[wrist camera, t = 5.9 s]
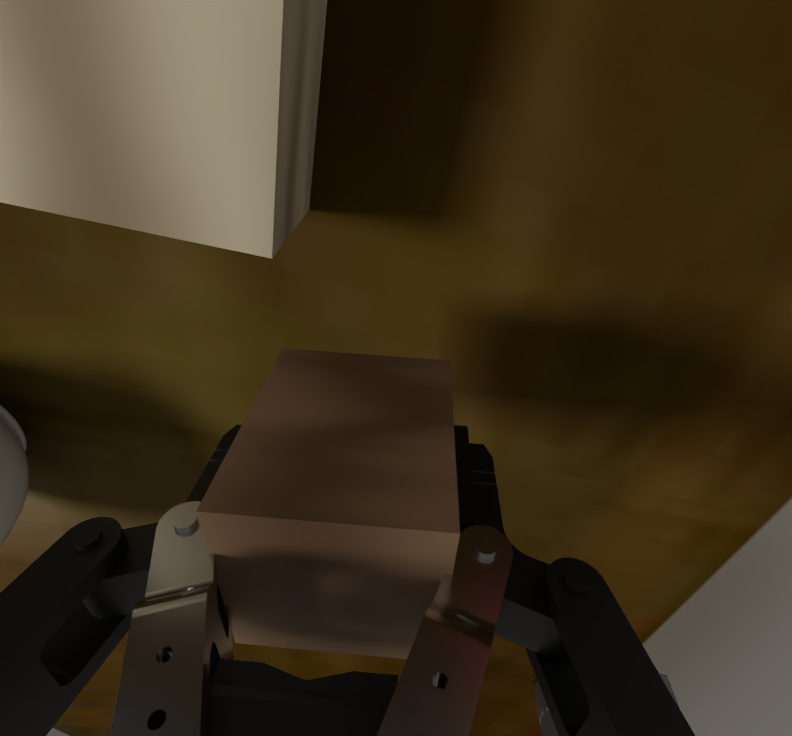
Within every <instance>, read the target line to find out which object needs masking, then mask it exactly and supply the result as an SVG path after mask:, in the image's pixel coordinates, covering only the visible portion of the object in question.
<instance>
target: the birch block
mask: <svg viewBox="0 0 792 736" xmlns="http://www.w3.org/2000/svg"><path fill="white" fill-rule="evenodd" d="M326 10H327V0H0V202H2V203H7V204H12V205H16V206H21V207H26V208H31V209H36V210H41V211H45V212H50V213H55V214H60V215H65V216H70V217H74V218H79V219H84V220H89V221H94V222H98V223H103V224H108V225H113V226H118V227H123V228H127V229H132V230H137V231H142V232H147V233H151V234H156V235H161V236H166V237H171V238H176V239H180V240H185V241H190V242H195V243H200V244H204V245H209V246H214V247H219V248H224V249H229V250H233V251H238V252H243V253H248V254H253V255H258V256H262V257H267V258H273V257H274V255H275V254H276V253H277V251H278V250H279V249H280V247H281V246H282V245H283V244H284V242H285V241H286V240H287V238H288V237H289V236H290V234H291V233H292V232H293V231H294V229H295V228H296V227H297V225H298V224H299V223H300V221H301V220H302V219H303V218H304V216H305V215H306V214H307V212H308V211H309V206H310V194H311V183H312V171H313V160H314V148H315V137H316V125H317V114H318V102H319V90H320V79H321V67H322V56H323V44H324V33H325V21H326Z"/></svg>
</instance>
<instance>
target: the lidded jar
mask: <svg viewBox="0 0 792 736" xmlns="http://www.w3.org/2000/svg"><path fill="white" fill-rule="evenodd" d="M26 450H27V439H26V436H25V433H24V431H23V429H22V428H21V426H20V424H19V423H18V422H17V420H16V419H15V418H14V417H13V416H12V415H11V414H10V413H9V411H7V410H6V409H5V408H4V407H3V406H2V405H1V404H0V547H1V545H2V544H3V542H4V541H5V539H6V538H7V536H8V535H9V533H10V531H11V529H12V527H13V526H14V524H15V522H16V520H17V518H18V516H19V514H20V513H21V511H22V508H23V505H24V502H25V499H26V496H27V491H28V484H29V469H28V461H27V456H26Z"/></svg>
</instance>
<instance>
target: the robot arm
mask: <svg viewBox="0 0 792 736" xmlns="http://www.w3.org/2000/svg"><path fill="white" fill-rule="evenodd" d="M241 426H242V425H236V426H235V427H233V428H232V429H231V430H230V431H229V432H227V433H226V434H225V435H224V436H223V437H222V439H221V441H220V443H219V445H218V446H217V448H216V451H215V452H214V453H213V455H212V457H211V459H210V462H208V464H207V466H206V468H205V469H204V471H203V473H202V475H201V476H200V478H199V480H198V482H197V483H196V485H195V487H194V489H193V491H192V492H191V494H190V496H189V498H188V499H187V501H186V502H185V503H182V504H179V505H177V506H175V507H173V508H172V509H170V510H169V511H168V512H166V513H165V514H164V515H163V516H162V518H161V519H160V520H159V522H157V523H153V524H148V525H143V526H138V527H133V528H127V529H122V528H121V526H120V524H119V523H118V522H117V521H116V520H115V519H113V518H109V517H97V518H92V519H89V520H86V521H83V522H81V523H79V524H77V525H76V526H74V527H73V528H71V529H70V530H69V531H67V532H66V533H65V534H64V535H63V536H62V537H61V538H60V539H59V540H57V541H56V542H55V543H54V544H53V545H52V546H51V547H50V548H49V549H48V550H47V551H45V552H44V553H43V554H42V555H41V556H40V557H39V558H38V559H37V560H36V561H35V562H33V563H32V564H31V565H30V566H29V567H28V568H27V569H26V570H25V571H24V572H23V573H22V574H20V575H19V576H18V577H17V578H16V579H15V580H14V581H13V582H12V583H11V584H10V585H8V586H7V587H6V588H5V589H4V590H3V591H2V592H1V593H0V736H46V735H47V734H48V732H49V731H50V730H51V729H52V727H53V726H54V725H55V723H56V722H57V721H58V720H59V718H60V717H61V716H62V715H63V713H64V712H65V711H66V709H67V708H68V707H69V706H70V704H71V703H72V702H73V701H74V699H75V698H76V697H77V695H78V694H79V693H80V692H81V690H82V689H83V688H84V687H85V685H86V684H87V683H88V681H89V680H90V679H91V678H92V676H93V675H94V674H95V673H96V671H97V670H98V669H99V667H100V666H101V665H102V664H103V662H104V661H105V660H106V658H107V657H108V656H109V655H110V653H111V652H112V651H113V650H114V648H115V647H116V646H117V644H118V643H119V642H120V641H121V639H122V638H123V637H124V636H125V634H126V633H127V632H128V630H129V633H128V639H127V644H126V650H125V655H124V661H123V666H122V672H121V677H120V683H119V688H118V694H117V699H116V705H115V710H114V716H113V721H112V727H111V732H110V736H468V735H469V731H470V727H471V724H472V720H473V716H474V712H475V708H476V704H477V700H478V696H479V692H480V688H481V684H482V681H483V677H484V673H485V669H486V665H487V661H488V657H489V653H490V649H491V645H492V641H493V637H494V634H496V635H498V636H500V637H502V638H505V639H507V640H509V641H511V642H514V643H516V644H518V645H520V646H523V647H525V648H526V651H527V654H528V656H529V659H530V662H531V664H532V667H533V669H534V672H535V675H536V677H537V680H538V681H537V682H536V685H535V694H536V700H537V706H538V715H539V721H540V725H541V729H542V735H543V736H695V735H694V733H693V731H692V730H691V728H690V726H689V725H688V723H687V721H686V720H685V718H684V716H683V714H682V712H681V711H680V709H679V706H678V704H677V701H676V698H675V696H674V693H673V691H672V688H671V685H670V683H669V680H668V678H667V676H666V675H662V674H659V673H658V671H657V669H656V668H655V666H654V665H653V663H652V661H651V659H650V658H649V656H648V654H647V652H646V651H645V649H644V647H643V645H642V644H641V642H640V640H639V639H638V637H637V635H636V633H635V632H634V630H633V628H632V627H631V625H630V623H629V621H628V620H627V618H626V616H625V615H624V613H623V611H622V609H621V608H620V606H619V604H618V603H617V601H616V599H615V597H614V596H613V594H612V592H611V591H610V589H609V587H608V585H607V584H606V582H605V580H604V579H603V577H602V576H601V575H600V574H599V572H598V571H597V570H596V569H594V568H593V567H592V566H590V565H589V564H587V563H586V562H584V561H581V560H579V559H575V558H560V559H557V560H555V561H554V562H553V563H551V565H550V564H547V563H544V562H542V561H539V560H537V559H534V558H531V557H529V556H527V555H525V554H523V553H522V552H520V551H519V550H517V549H516V548H515V547H514V546H513V545H512V544H511V543H510V541H509V540H508V538H507V537H506V535H505V532H504V529H503V523H502V517H501V510H500V504H499V497H498V491H497V486H496V478H495V474H494V472H495V471H494V465H493V458H492V456H491V455H490V453H489V452H488V450H487V449H486V447H485V446H484V444H471V443H469V438H468V428H467V426H458V425H454V438H455V455H456V472H457V488H458V505H459V522H460V537H459V543H458V548H457V553H456V558H455V563H454V569H453V574H444V575H443V578H442V580H441V583H440V585H439V588H438V591H437V593H436V596H435V598H434V601H433V603H432V605H431V606H429V607H428V609H427V611H426V613H425V615H424V617H423V620H422V622H421V625H420V628H419V630H418V633H417V635H416V638H415V640H414V643H413V645H412V648H411V650H410V653H409V655H408V658H407V660H406V663H405V665H404V668H403V671H402V673H401V676H400V678H399V681H398V675H388V674H377V673H366V672H356V671H353V672H348V673H343V674H338V675H332V676H327V677H322V678H317V679H312V680H303V679H300V678H298V677H295V676H293V675H291V674H288V673H286V672H284V671H281V670H279V669H277V668H274V667H272V666H270V665H267V664H265V663H260V662H249V661H239V660H234V658H233V649H232V614H231V610H230V607H229V605H224V602H223V599H222V596H221V592H220V589H219V586H218V583H217V576H218V566H217V562H216V559H215V555H214V554H211V553H208V549H207V546H206V543H205V540H204V536H203V533H202V530H201V526H200V523H199V520H198V516H197V513H196V511H197V509H198V507H199V505H200V503H201V501H202V499H203V497H204V496H205V494H206V492H207V490H208V488H209V486H210V484H211V482H212V480H213V479H214V477H215V475H216V473H217V471H218V469H219V467H220V465H221V464H222V462H223V460H224V458H225V456H226V454H227V452H228V450H229V448H230V447H231V445H232V443H233V441H234V439H235V437H236V435H237V433H238V432H239V430H240V428H241Z"/></svg>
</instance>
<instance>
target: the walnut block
mask: <svg viewBox="0 0 792 736" xmlns="http://www.w3.org/2000/svg"><path fill="white" fill-rule="evenodd" d="M196 513H197V516H198V520H199V523H200V526H201V530H202V533H203V536H204V540H205V543H206V546H207V549H208V553H211V554H214V555H215V559H216V562H217V566H218V576H217V583H218V586H219V589H220V592H221V596H222V599H223V602H224V605H229V607H230V610H231V614H232V632H233V636H234V639H235V642H236V643H241V644H251V645H262V646H273V647H284V648H294V649H305V650H316V651H327V652H337V653H348V654H359V655H370V656H380V657H391V658H402V659H407V658H408V655H409V653H410V650H411V648H412V645H413V643H414V640H415V638H416V635H417V633H418V630H419V628H420V625H421V622H422V620H423V617H424V615H425V613H426V611H427V609H428V607H429V606H431V605H432V603H433V601H434V598H435V596H436V593H437V591H438V588H439V585H440V583H441V580H442V578H443V575H444V574H453V569H454V563H455V558H456V553H457V548H458V543H459V537H460V522H459V505H458V488H457V472H456V455H455V438H454V422H453V405H452V388H451V372H450V361H447V360H433V359H419V358H406V357H392V356H378V355H364V354H350V353H336V352H323V351H309V350H295V349H282V351H281V352H280V354H279V356H278V358H277V360H276V362H275V364H274V366H273V368H272V369H271V371H270V373H269V375H268V377H267V379H266V381H265V383H264V384H263V386H262V388H261V390H260V392H259V394H258V396H257V398H256V400H255V401H254V403H253V405H252V407H251V409H250V411H249V413H248V415H247V416H246V418H245V420H244V422H243V424H242V426H241V428H240V430H239V432H238V433H237V435H236V437H235V439H234V441H233V443H232V445H231V447H230V448H229V450H228V452H227V454H226V456H225V458H224V460H223V462H222V464H221V465H220V467H219V469H218V471H217V473H216V475H215V477H214V479H213V480H212V482H211V484H210V486H209V488H208V490H207V492H206V494H205V496H204V497H203V499H202V501H201V503H200V505H199V507H198V509H197V511H196Z"/></svg>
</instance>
